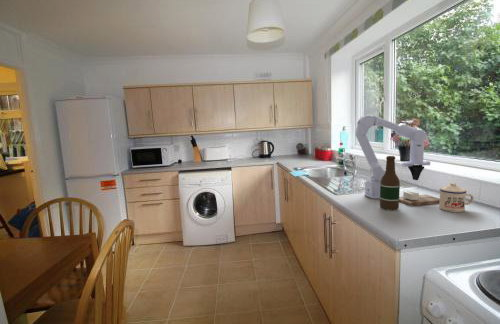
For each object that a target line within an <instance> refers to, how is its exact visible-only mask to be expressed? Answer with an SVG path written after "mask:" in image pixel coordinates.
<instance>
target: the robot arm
mask: <svg viewBox="0 0 500 324" xmlns="http://www.w3.org/2000/svg"><path fill="white" fill-rule="evenodd" d="M372 126H380V127H384V128H386V129H390V130H392V131H394V132H395V134H396V135H398V136H401V137H403V138H406V139H409V140H410V147H409V149H410V150H409V161H406V162H402V163H401V167H404V168H408V170H409V171H410V174H411V177H412V180H413V181H414V180H415V181H419V178H420V176H421V174H422V172H423V170H424V169H425V166H431V161H430V160H424V152H425V149H424V148H425V140H426V139H427V136H428V135H427V134H426V132H425V131H424V130H422V129H417V128H418V127H415V126H414V127H412V126H410V125H408V123H399V124H397V123H394V122H391V121H389V120H387V119H384V118H381V117H379V116H376V115H375V116H374V115H372V114H366V115H362V116H361V117H360V118H359V119H358V121H357V123H356V130H355V137H356V139H357V142H358V145H359V146H360V148H361V150H362V153H363V155H364V158H365V159H366V161H367V164H368V167H369V174H370V175H371V177H370V180H367V181H366V182H364V194H363V195H364V196H365V195H366V196H365V197H368V198H371V199H374V200H375V199H380V183H381V179H382V177H383V176H384V174H385V171H386V169H384V168H383V167H382V165H381V164H380V163H379V161H378V158H377V156H376V154H375V152H374V149H373V147H372V144H371V142H370V140H369V138H368V135H367V133H368V132H369V130H370V129H371V128H372Z"/></svg>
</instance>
